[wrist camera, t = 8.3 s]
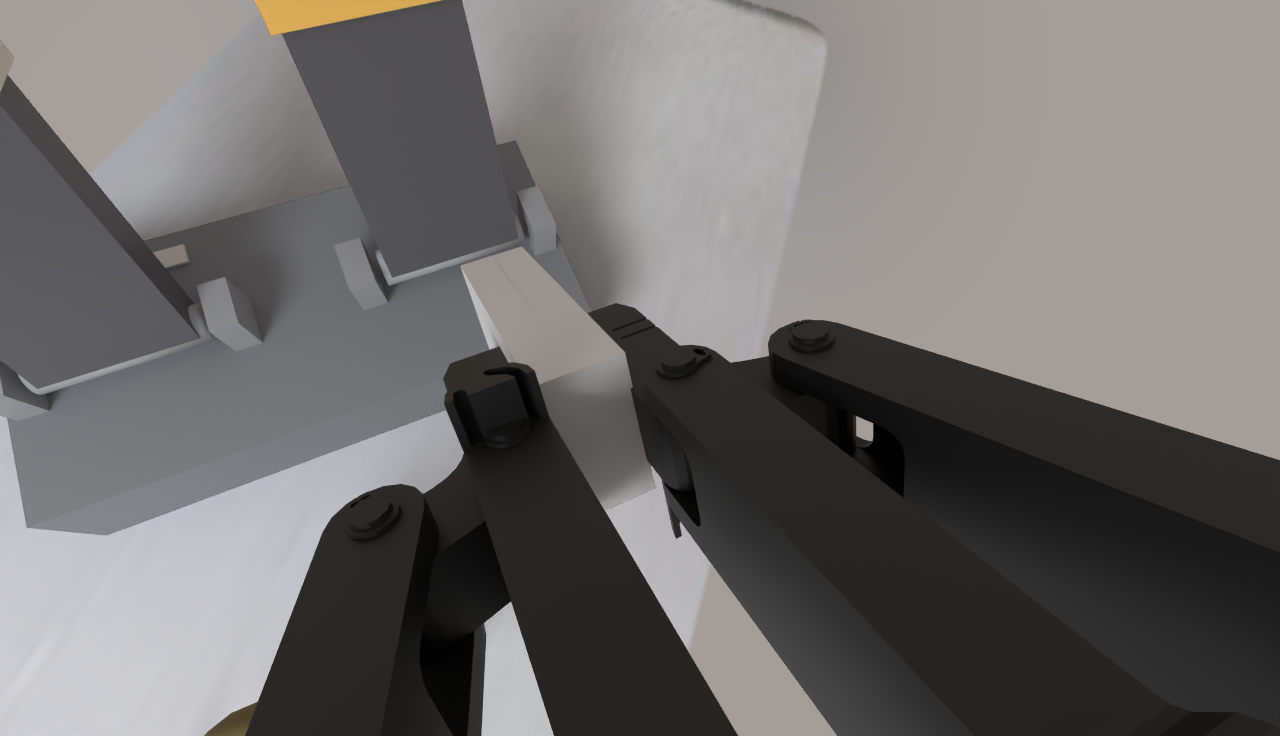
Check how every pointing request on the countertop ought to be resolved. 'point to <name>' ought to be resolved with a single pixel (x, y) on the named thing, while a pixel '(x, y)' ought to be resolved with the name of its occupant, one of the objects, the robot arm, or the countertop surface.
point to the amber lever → (405, 125)
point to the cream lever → (74, 265)
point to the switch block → (260, 363)
